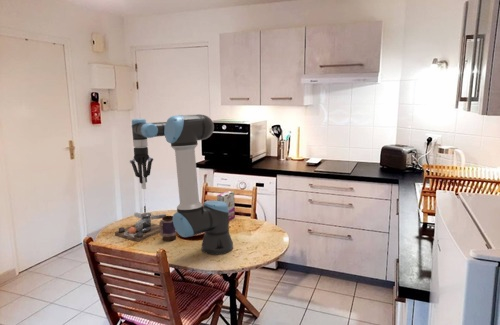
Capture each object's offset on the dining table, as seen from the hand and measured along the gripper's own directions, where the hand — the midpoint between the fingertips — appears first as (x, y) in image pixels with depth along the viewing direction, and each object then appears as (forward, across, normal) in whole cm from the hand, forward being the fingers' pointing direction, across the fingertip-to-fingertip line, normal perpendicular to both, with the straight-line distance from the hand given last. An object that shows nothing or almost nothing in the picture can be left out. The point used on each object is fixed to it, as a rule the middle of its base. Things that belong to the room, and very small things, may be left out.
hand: (143, 188), depth 198 cm
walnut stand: (+22, +6, +7) cm, 24 cm away
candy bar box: (+23, -41, +21) cm, 52 cm away
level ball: (+21, +12, +11) cm, 27 cm away
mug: (+23, 0, +26) cm, 35 cm away
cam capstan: (+21, +3, +6) cm, 22 cm away
